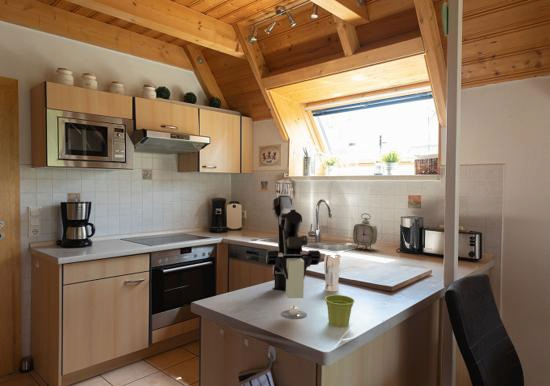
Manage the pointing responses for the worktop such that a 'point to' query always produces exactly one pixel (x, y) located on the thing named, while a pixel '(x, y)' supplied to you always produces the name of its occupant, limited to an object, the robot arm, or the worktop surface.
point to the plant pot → (339, 309)
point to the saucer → (299, 316)
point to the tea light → (293, 311)
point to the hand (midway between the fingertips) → (295, 278)
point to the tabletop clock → (365, 233)
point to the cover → (295, 278)
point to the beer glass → (332, 272)
